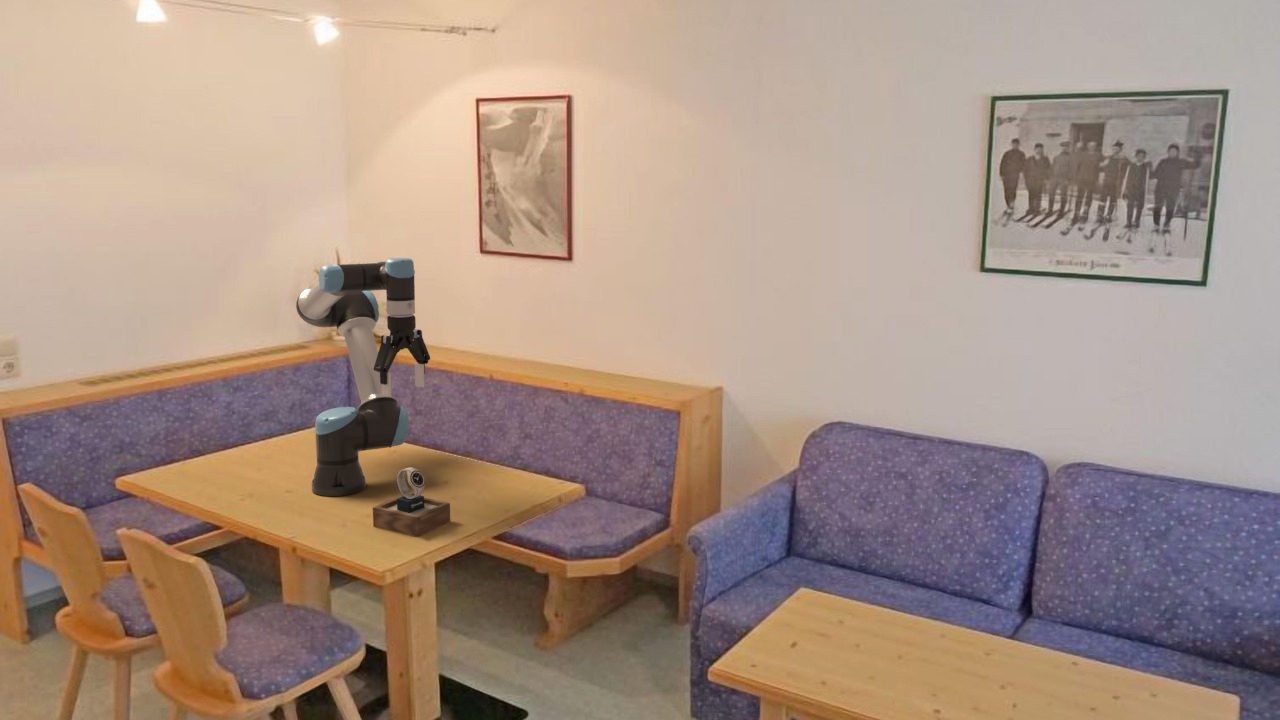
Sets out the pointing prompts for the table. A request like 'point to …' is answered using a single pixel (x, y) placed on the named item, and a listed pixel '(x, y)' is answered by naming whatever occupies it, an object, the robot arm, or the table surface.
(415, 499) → the watch
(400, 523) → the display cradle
